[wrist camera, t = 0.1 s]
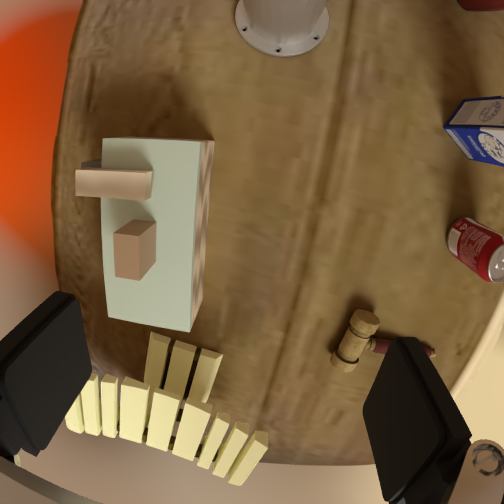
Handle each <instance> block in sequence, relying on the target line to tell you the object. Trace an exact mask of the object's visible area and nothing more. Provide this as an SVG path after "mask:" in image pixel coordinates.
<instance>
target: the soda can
mask: <svg viewBox="0 0 504 504" xmlns="http://www.w3.org/2000/svg"><path fill="white" fill-rule="evenodd" d="M447 245H448V249H449V251H450V253H451V254H452V255H453V256H455V257H456V258H457V259H458V260H460V261H461V262H462V263H464V264H465V265H466V266H467V267H469V268H470V269H471V270H472V271H474V272H475V273H476V274H477V275H479V276H480V277H481V278H482V279H483V280H485V281H488V282H495V283H501V282H503V281H504V236H503V235H501V234H499V233H497V232H496V231H494V230H492V229H490V228H488V227H486V226H484V225H483V224H481V223H479V222H477V221H475V220H473V219H471V218H467V217H464V218H461V219H459V220H457V221H456V222H455V223H454V224H453V225H452V227H451V228H450V230H449V233H448V237H447Z"/></svg>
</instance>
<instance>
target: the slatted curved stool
mask: <svg viewBox="0 0 504 504" xmlns="http://www.w3.org/2000/svg"><path fill="white" fill-rule="evenodd" d="M196 348H197V346H194V345H191V344H187V343H184V342H181V341H178V340H176V342H172V341H171V338H169V337H166V336H163V335H160V334H158V333H155V332H152V331H151V334H150V340H149V346H148V353H147V360H146V367H145V374H144V383H142V382H140V381H137V380H134V379H132V378H129V377H125V379H124V381H123V383H122V384H121V402H120V407H118V399H117V385H118V378H116V377H114V376H111V375H109V374H107V373H106V374H105V376H104V378H103V379H102V381H101V403H100V399H99V389H98V375H97V374H95V373H91V376H90V378H89V380H88V381H87V383H86V384H85V386H84V388H83V389H82V391H81V392H80V394H79V395H78V397H77V398H76V400H75V402H74V403H73V405H72V406H71V408H70V409H69V411H68V413H67V414H66V416H65V419H66V424H67V427H68V429H70V430H72V431H74V432H77V433H82V432H83V431H84V430H86V433H89V434H92V435H96V436H98V435H99V434H100V432H101V430H102V428H103V435H105V436H108V437H113V438H115V436H116V435H117V433H118V431H119V432H120V437H121V438H124V439H128V440H131V441H135V442H138V443H141V442H142V440H143V441H145V442H147V443H146V445H148V446H151V447H155V448H158V449H161V450H163V451H167V449H170V450H173V451H172V454H174V455H177V456H180V457H182V458H185V459H188V460H191V461H193V459H194V457H198V463H197V465H198V466H200V467H202V468H205V469H208V468H209V466H210V464H211V462H212V461H213V462H214V463H213V471H212V473H213V474H214V475H217V476H219V477H222V478H224V477H225V475H226V473H227V472H228V483H231V484H234V485H239V486H241V485H242V484H243V483H244V481H245V480H246V479H247V477H248V476H249V474H250V473H251V472H252V470H253V469H254V467H255V466H256V465H257V463H258V462H259V460H260V459H261V457H262V456H263V454H264V453H265V452H266V450H267V449H268V433H267V432H262V431H257V430H255V432H254V434H253V435H252V437H251V439H250V440H249V442H248V443H247V445H246V446H245V448H242V446H243V444H244V443H245V441H246V439H247V437H248V435H249V424H248V423H243V422H239V421H236V423H235V425H234V427H233V429H232V431H231V433H230V435H229V437H228V439H227V440H226V442H225V444H222V443H221V441H222V439H223V437H224V435H225V433H226V431H227V428H228V426H229V424H230V417H231V414H227V413H223V412H219V411H218V413H217V415H216V417H215V420H214V422H213V425H212V427H211V429H210V432H209V434H208V436H207V435H205V438H204V440H203V443H202V444H199V443H200V441H201V438H202V436H203V433H204V430H205V428H206V425H207V422H208V420H209V417H210V415H211V410H212V405H211V404H207V403H206V401H207V399H208V397H209V394H210V391H211V388H212V385H213V382H214V379H215V377H216V374H217V371H218V368H219V365H220V362H221V359H222V356H223V354H220V353H217V352H213V351H210V350H207V349H203V348H202V350H201V351H200V350H197V349H196ZM168 352H169V353H172V355H171V360H170V364H169V369H168V373H167V378H166V382H165V386H164V390H162V389H161V386H162V381H163V376H164V371H165V365H166V360H167V356H168ZM193 360H194V361H197V362H198V364H197V368H196V371H195V375H194V378H193V382H192V385H191V389H190V392H189V396H188V398H187V400H186V403H185V407H184V410H183V409H180V407H181V403H182V400H183V396H184V393H185V389H186V385H187V381H188V378H189V374H190V370H191V367H192V363H193ZM176 421H178V422H180V425H179V429H178V433H177V436H176V437H174V436H172V433H173V430H174V427H175V423H176ZM148 425H149V428H147V427H148ZM220 443H221V444H220ZM219 445H220V446H219Z"/></svg>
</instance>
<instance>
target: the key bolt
mask: <svg viewBox="0 0 504 504" xmlns="http://www.w3.org/2000/svg"><path fill="white" fill-rule="evenodd" d="M153 175H154V170H138V169H119V168H93V167H86V168H82V169H78V170H76V196H89V197H102V198H114V199H126V200H138V201H146V200H147V199H149V198H151V197H153Z"/></svg>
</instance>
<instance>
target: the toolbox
mask: <svg viewBox="0 0 504 504" xmlns="http://www.w3.org/2000/svg"><path fill="white" fill-rule="evenodd" d="M117 138H140V139H167V140H186V141H200V142H203V144H202V155H201V166H200V178H199V190H198V203H197V218H196V234H195V252H194V272H193V298H192V325H193V323H194V320H195V318H196V315H197V313H198V310H199V308H200V305H201V303H202V300H203V284H204V267H205V251H206V237H207V223H208V210H209V198H210V186H211V175H212V164H213V154H214V144H215V141H210V140H196V139H180V138H160V137H117ZM101 166H102V160H93V161H88V162H83V163H81V169H82V168H86V167H93V168H101Z"/></svg>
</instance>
